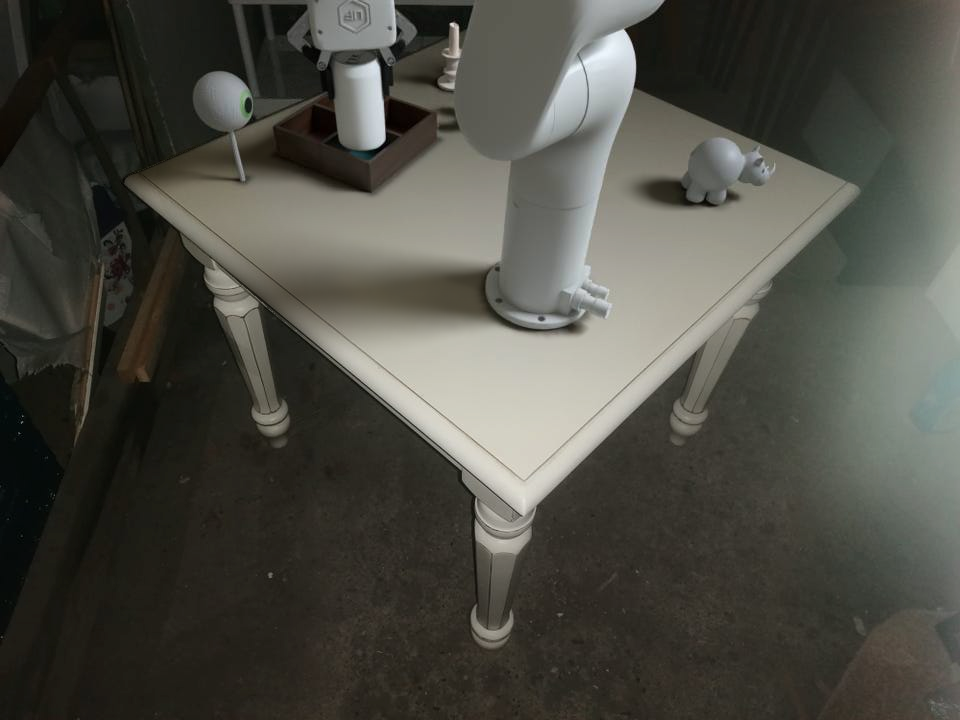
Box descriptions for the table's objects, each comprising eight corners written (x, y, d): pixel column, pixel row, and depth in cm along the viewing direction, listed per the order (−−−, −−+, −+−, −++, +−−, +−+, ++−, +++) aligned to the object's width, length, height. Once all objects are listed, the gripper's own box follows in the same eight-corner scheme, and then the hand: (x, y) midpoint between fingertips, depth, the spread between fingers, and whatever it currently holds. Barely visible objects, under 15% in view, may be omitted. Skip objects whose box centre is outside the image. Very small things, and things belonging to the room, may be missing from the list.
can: (391, 132, 95) (386, 46, 86) (378, 156, 91) (372, 69, 82) (347, 125, 95) (338, 40, 86) (332, 149, 91) (321, 62, 82)
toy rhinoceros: (767, 214, 94) (792, 161, 87) (682, 207, 94) (700, 153, 87) (756, 185, 98) (779, 132, 92) (675, 178, 98) (692, 125, 92)
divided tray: (437, 139, 102) (437, 112, 99) (371, 192, 92) (369, 164, 89) (348, 107, 107) (346, 80, 104) (277, 154, 97) (272, 126, 94)
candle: (472, 81, 115) (475, 18, 108) (461, 94, 112) (463, 30, 104) (444, 74, 116) (445, 12, 109) (432, 87, 113) (432, 23, 105)
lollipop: (256, 198, 90) (230, 91, 79) (206, 190, 91) (174, 83, 79) (277, 170, 95) (256, 65, 83) (230, 162, 95) (202, 57, 84)
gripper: (266, -47, 70) (293, 113, 84) (428, -52, 74) (428, 102, 87) (262, -70, 75) (288, 84, 88) (414, -74, 78) (417, 75, 92)
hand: (358, 92), depth 88 cm, fingers closed on can, 6 cm apart
